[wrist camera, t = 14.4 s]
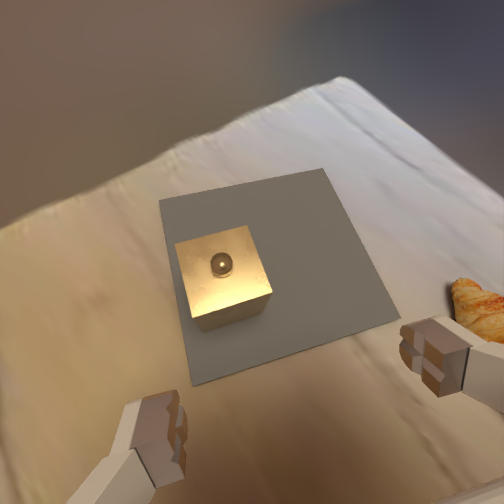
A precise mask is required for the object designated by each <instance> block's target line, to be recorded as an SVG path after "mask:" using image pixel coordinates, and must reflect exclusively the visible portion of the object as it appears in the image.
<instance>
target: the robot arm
mask: <svg viewBox="0 0 504 504" xmlns="http://www.w3.org/2000/svg"><path fill="white" fill-rule="evenodd" d="M400 335H401V336H402V337H403V340H402V341H401V343H400V344H399V352H400V355H401V358H402V360H403V361H404V363H405V364H406V366H407V367H408V368H409V369H410V370H411V371H413V372H415V373H417V374H420V375H421V379H422V382H423V383H424V384H425V385H426V386H427V387H428V388H429V389H430V390H431V391H432V392H433V393H434V394H435V395H436V396H437V397H438V398H439V397H442V396H446V395H450V394H453V393H457V392H460V391H462V393H464V394H466V395H468V396H470V397H472V398H474V399H476V400H478V401H480V402H482V403H484V404H486V405H488V406H490V407H492V408H494V409H496V410H498V411H500V412H501V413H503V414H504V344H500V343H497V342H493V341H491V342H487V341H485V340H483V339H482V338H480V337H479V336H477V335H476V334H474V333H472V332H471V331H469V330H468V329H466V328H464V327H463V326H461V325H460V324H458V323H456V322H455V321H453V320H452V319H450V318H449V317H447V316H445V315H441V314H440V315H437V316H433V317H430V318H427V319H423V320H420V321H416V322H413V323H409V324H406V325H403V326H402V327H401V329H400ZM179 398H180V397H179V395H178V392H177V390H171V391H167V392H163V393H159V394H155V395H151V396H147V397H144V398H140V399H136V400H132V401H128V402H127V404H126V405H125V407H124V410H123V413H122V416H121V419H120V422H119V425H118V429H117V432H116V435H115V438H114V441H113V444H112V447H111V450H110V454H109V456H107V457H104V458H103V459H102V460H101V461H100V462H99V464H98V465H97V466H96V467H95V468H94V470H93V471H92V472H91V473H90V475H89V476H88V477H87V478H86V479H85V481H84V482H83V483H82V484H81V485H80V487H79V488H78V489H77V490H76V492H75V493H74V494H73V495H72V496H71V498H70V499H69V500H68V501H67V502H66V504H150V502H151V500H152V498H153V496H154V494H155V492H156V490H155V489H157V488H160V487H162V486H165V485H168V484H171V483H174V482H177V481H179V480H182V479H185V469H186V452H185V449H184V447H183V445H184V443H185V442H186V440H187V431H188V429H187V418H186V414H185V410H184V408H183V406H181V405H179ZM429 504H504V476H503V477H500V478H497V479H494V480H492V481H489V482H486V483H484V484H481V485H478V486H475V487H473V488H470V489H467V490H465V491H462V492H459V493H456V494H454V495H451V496H448V497H446V498H443V499H440V500H437V501H435V502H432V503H429Z"/></svg>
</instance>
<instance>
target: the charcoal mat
mask: <svg viewBox="0 0 504 504" xmlns="http://www.w3.org/2000/svg"><path fill="white" fill-rule="evenodd" d="M159 205H160V210H161V216H162V221H163V226H164V232H165V237H166V243H167V248H168V254H169V259H170V265H171V270H172V276H173V281H174V287H175V292H176V298H177V303H178V309H179V314H180V320H181V325H182V331H183V336H184V342H185V347H186V352H187V358H188V363H189V369H190V374H191V380H192V385H193V386H196V385H199V384H202V383H205V382H208V381H211V380H214V379H217V378H220V377H223V376H226V375H229V374H232V373H235V372H238V371H242V370H245V369H248V368H251V367H254V366H257V365H260V364H263V363H266V362H269V361H272V360H275V359H278V358H281V357H284V356H287V355H290V354H293V353H296V352H299V351H302V350H306V349H309V348H312V347H315V346H318V345H321V344H324V343H327V342H330V341H333V340H336V339H339V338H342V337H345V336H348V335H351V334H354V333H357V332H360V331H363V330H366V329H370V328H373V327H376V326H379V325H382V324H385V323H388V322H391V321H394V320H397V319H400V318H401V317H400V315H399V313H398V311H397V309H396V307H395V305H394V303H393V301H392V299H391V297H390V296H389V294H388V292H387V290H386V288H385V286H384V284H383V282H382V280H381V278H380V276H379V275H378V273H377V271H376V269H375V267H374V265H373V263H372V261H371V259H370V257H369V255H368V254H367V252H366V250H365V248H364V246H363V244H362V242H361V240H360V238H359V236H358V234H357V232H356V231H355V229H354V227H353V225H352V223H351V221H350V219H349V217H348V215H347V213H346V211H345V210H344V208H343V206H342V204H341V202H340V200H339V198H338V196H337V194H336V192H335V190H334V189H333V187H332V185H331V183H330V181H329V179H328V177H327V175H326V173H325V171H324V169H323V168H321V169H316V170H310V171H305V172H300V173H295V174H290V175H285V176H280V177H275V178H270V179H264V180H259V181H254V182H249V183H244V184H239V185H234V186H229V187H224V188H218V189H213V190H208V191H203V192H198V193H193V194H188V195H183V196H178V197H172V198H167V199H162V200H159ZM245 225H247V226H248V229H249V231H250V234H251V237H252V239H253V242H254V245H255V247H256V250H257V252H258V255H259V258H260V260H261V263H262V265H263V268H264V271H265V273H266V276H267V279H268V281H269V284H270V286H271V289H272V294H271V297H270V299H269V301H268V303H267V305H266V307H265V309H264V311H263V313H262V314H260V315H257V316H254V317H251V318H248V319H245V320H242V321H239V322H236V323H233V324H230V325H227V326H224V327H221V328H218V329H215V330H212V331H209V332H206V333H204V332H203V330H202V329H201V328H200V327H199V325H198V324H197V323H196V322H195V320H194V319H193V318H192V314H191V310H190V306H189V301H188V297H187V293H186V289H185V285H184V281H183V277H182V273H181V269H180V265H179V260H178V256H177V252H176V248H175V244H177V243H180V242H184V241H188V240H192V239H196V238H199V237H203V236H207V235H211V234H215V233H218V232H222V231H226V230H230V229H234V228H238V227H241V226H245Z"/></svg>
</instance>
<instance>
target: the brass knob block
mask: <svg viewBox="0 0 504 504" xmlns="http://www.w3.org/2000/svg"><path fill="white" fill-rule="evenodd" d="M175 248H176V252H177V256H178V260H179V265H180V269H181V273H182V277H183V281H184V285H185V289H186V293H187V297H188V301H189V306H190V310H191V314H192V318H193V319H194V320H195V322H196V323H197V324H198V325H199V327H200V328H201V329H202V330H203V332H204V333H206V332H209V331H212V330H215V329H218V328H221V327H224V326H227V325H230V324H233V323H236V322H239V321H242V320H245V319H248V318H251V317H254V316H257V315H260V314H262V313H263V311H264V309H265V307H266V305H267V303H268V301H269V299H270V297H271V294H272V289H271V286H270V284H269V281H268V279H267V276H266V273H265V271H264V268H263V265H262V263H261V260H260V258H259V255H258V252H257V250H256V247H255V245H254V242H253V239H252V237H251V234H250V231H249V229H248V226H247V225H245V226H241V227H238V228H234V229H230V230H226V231H222V232H218V233H215V234H211V235H207V236H203V237H199V238H196V239H192V240H188V241H184V242H180V243H177V244H175Z"/></svg>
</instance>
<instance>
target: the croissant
mask: <svg viewBox="0 0 504 504" xmlns="http://www.w3.org/2000/svg"><path fill="white" fill-rule="evenodd" d="M451 292H452V294H453V301H454V307H455V317H456V321H457V323H458V324H460V325H461V326H463V327H464V328H466V329H468V330H469V331H471V332H472V333H474V334H476V335H477V336H479V337H480V338H482V339H483V340H485V341H487V342H491V341H493V342H497V343H500V344H504V297H503V296H500V295H498V294H496V293H492V292H490V291H483V290H482V289H481V287H480V286H479V285H478V284H477V283H476V282H474V281H472V280H470V279H468V278H466V279H465V278H459V279H458V280H456V281H455V282H453V284H452V290H451Z"/></svg>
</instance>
